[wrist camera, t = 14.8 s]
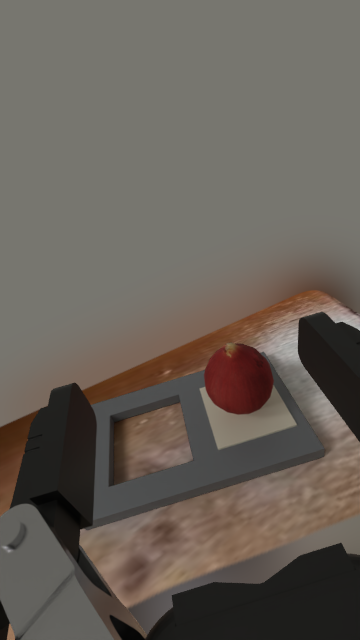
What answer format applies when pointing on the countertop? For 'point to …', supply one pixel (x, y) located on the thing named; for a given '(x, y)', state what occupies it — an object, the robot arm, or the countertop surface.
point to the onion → (238, 379)
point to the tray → (200, 446)
